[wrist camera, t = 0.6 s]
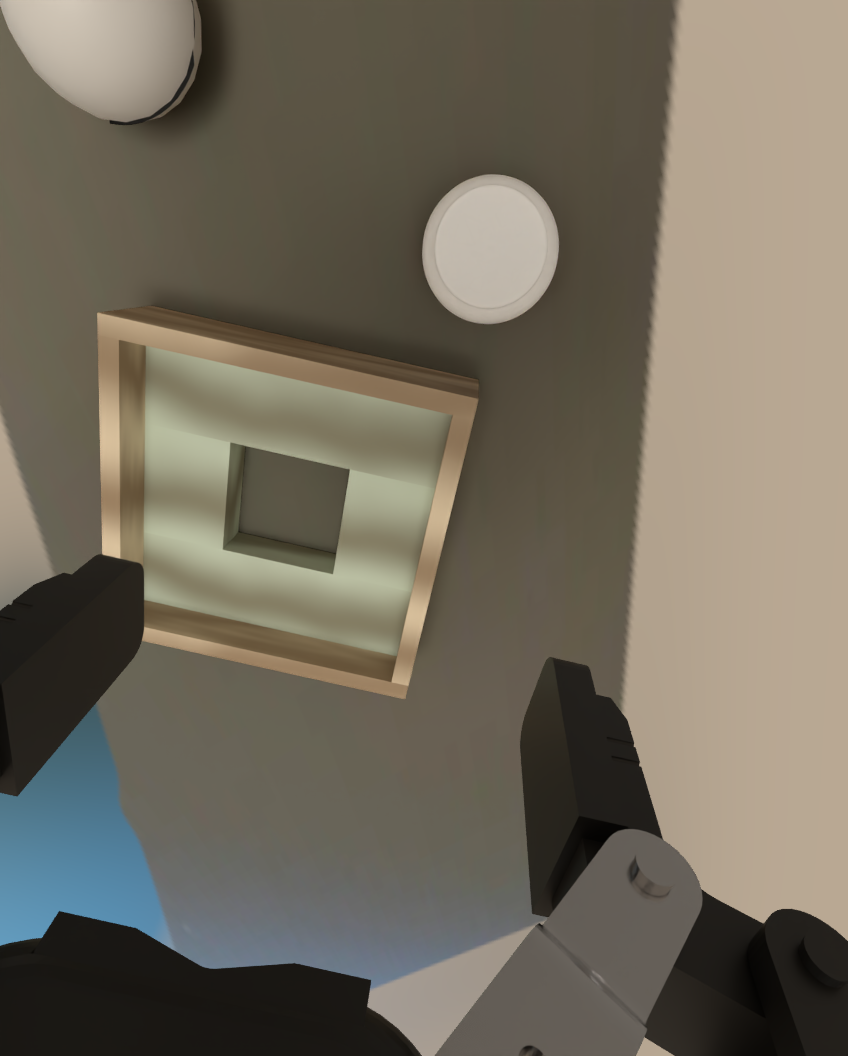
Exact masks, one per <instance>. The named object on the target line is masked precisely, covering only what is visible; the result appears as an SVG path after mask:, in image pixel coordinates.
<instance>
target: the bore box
mask: <svg viewBox="0 0 848 1056" xmlns="http://www.w3.org/2000/svg"><path fill="white" fill-rule="evenodd" d="M97 320H98V367H99V414H100V461H101V507H102V554H103V555H107V556H111V557H116V558H120V559H125V560H129V561H133V562H138V563H140V564H141V565H142V566H143V569H144V633H143V638H142V641H146V642H150V643H155V644H159V645H164V646H168V647H173V648H177V649H182V650H186V651H191V652H195V653H200V654H204V655H209V656H213V657H218V658H222V659H227V660H231V661H236V662H240V663H245V664H249V665H254V666H258V667H263V668H267V669H272V670H276V671H280V672H285V673H289V674H294V675H298V676H303V677H307V678H312V679H316V680H321V681H325V682H330V683H334V684H339V685H343V686H348V687H352V688H357V689H361V690H366V691H370V692H375V693H379V694H384V695H388V696H393V697H397V698H402V699H405V697H406V693H407V689H408V685H409V681H410V677H411V673H412V669H413V664H414V660H415V656H416V652H417V648H418V644H419V640H420V636H421V632H422V628H423V624H424V620H425V616H426V612H427V607H428V603H429V599H430V595H431V591H432V587H433V583H434V579H435V575H436V571H437V567H438V563H439V559H440V555H441V550H442V546H443V542H444V538H445V534H446V530H447V526H448V522H449V518H450V514H451V510H452V506H453V502H454V498H455V494H456V489H457V485H458V481H459V477H460V473H461V469H462V465H463V461H464V457H465V453H466V449H467V445H468V441H469V437H470V432H471V428H472V424H473V420H474V416H475V412H476V408H477V404H478V400H479V380H477V379H473V378H469V377H464V376H460V375H455V374H451V373H447V372H442V371H438V370H433V369H429V368H424V367H420V366H416V365H411V364H407V363H402V362H398V361H394V360H389V359H385V358H380V357H376V356H372V355H367V354H363V353H358V352H354V351H349V350H345V349H341V348H336V347H332V346H327V345H323V344H319V343H314V342H310V341H305V340H301V339H296V338H292V337H288V336H283V335H279V334H274V333H270V332H266V331H261V330H257V329H252V328H248V327H244V326H239V325H235V324H230V323H226V322H221V321H217V320H213V319H208V318H204V317H199V316H195V315H191V314H186V313H182V312H177V311H173V310H169V309H164V308H160V307H155V306H145V307H137V308H130V309H122V310H114V311H107V312H99V313H97ZM246 446H248V447H253V448H257V449H262V450H266V451H270V452H275V453H279V454H284V455H288V456H293V457H297V458H302V459H306V460H310V461H315V462H319V463H324V464H328V465H333V466H337V467H341V468H346V469H350V474H349V480H348V486H347V492H346V498H345V504H344V511H343V517H342V523H341V529H340V535H339V541H338V547H337V553H336V554H334V553H329V552H325V551H320V550H316V549H311V548H307V547H302V546H298V545H294V544H289V543H285V542H280V541H276V540H271V539H267V538H262V537H258V536H253V535H249V534H245V533H240V532H238V530H239V518H240V506H241V495H242V483H243V471H244V459H245V447H246Z"/></svg>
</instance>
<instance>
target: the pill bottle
mask: <svg viewBox="0 0 848 1056" xmlns="http://www.w3.org/2000/svg"><path fill="white" fill-rule="evenodd" d="M558 252H559V237H558V230H557V226H556V222H555V219H554V217H553V214H552V212H551V210H550V208H549V207H548V205H547V203H546V202H545V200H544V199H543V198H542V197H541V196H540V195H539V194H538V193H537V192H536V191H535V190H534V189H533V188H532V187H530V186H529V185H528V184H526V183H524V182H523V181H520V180H518V179H516V178H513V177H510V176H505V175H497V174H489V175H482V176H478V177H474V178H471V179H468V180H466V181H464V182H462V183H460V184H459V185H457V186H456V187H454V188H453V189H452V190H451V191H449V192H448V193H447V194H446V195H445V196H444V197H443V198H442V199H441V200H440V202H439V203H438V204H437V206H436V207H435V209H434V210H433V212H432V214H431V216H430V218H429V221H428V223H427V226H426V229H425V233H424V238H423V248H422V260H423V268H424V272H425V276H426V279H427V281H428V284H429V286H430V288H431V290H432V292H433V293H434V295H435V296H436V298H437V299H438V300H439V302H440V303H441V304H442V305H443V306H444V307H445V308H446V309H447V310H449V311H450V312H451V313H453V314H454V315H456V316H458V317H460V318H462V319H464V320H467V321H470V322H474V323H480V324H496V323H501V322H505V321H508V320H511V319H514V318H516V317H518V316H520V315H521V314H523V313H524V312H526V311H527V310H529V309H530V308H531V307H532V306H533V305H534V304H535V303H536V302H537V301H538V300H539V299H540V298H541V297H542V295H543V294H544V293H545V291H546V289H547V288H548V286H549V284H550V282H551V280H552V278H553V275H554V273H555V269H556V265H557V260H558Z"/></svg>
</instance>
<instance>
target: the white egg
mask: <svg viewBox="0 0 848 1056" xmlns="http://www.w3.org/2000/svg"><path fill="white" fill-rule="evenodd" d="M0 6H1V9H2V12H3V15H4V17H5V20H6V23H7V26H8V28H9V30H10V32H11V34H12V36H13V37H14V39H15V41H16V43H17V45H18V46H19V48H20V49H21V51H22V52H23V54H24V56H25V57H26V59H27V60H28V62H29V63H30V65H31V66H32V68H33V70H34V71H35V72H36V73H37V74H38V75H39V76H40V77H41V78H42V79H43V80H44V81H45V82H46V83H47V84H48V85H49V86H50V87H51V88H52V89H53V90H54V91H56V92H57V93H58V94H59V95H60V96H62V97H63V98H65V99H66V100H67V101H69V102H70V103H72V104H73V105H75V106H77V107H78V108H80V109H82V110H84V111H86V112H88V113H90V114H92V115H94V116H96V117H98V118H99V119H106V120H110V124H117V125H132V124H137V123H142V122H145V121H149V120H153V119H156V118H160V117H162V116H164V115H165V114H166V113H168V112H169V111H170V110H171V109H173V108H174V107H175V106H177V105H178V104H179V103H181V101H182V99H183V98H184V96H185V94H186V93H187V91H188V90H189V88H190V86H191V85H192V83H193V82H194V80H195V76H196V72H197V68H198V64H199V60H200V56H201V52H202V48H201V17H200V13H199V9H198V6H197V2H196V0H0Z"/></svg>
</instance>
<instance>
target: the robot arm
mask: <svg viewBox="0 0 848 1056" xmlns="http://www.w3.org/2000/svg"><path fill="white" fill-rule="evenodd" d="M143 633H144V569H143V566H142V565H141V564H140V563H138V562H133V561H129V560H125V559H120V558H116V557H111V556H107V555H102V554H99V555H96V556H95V557H93V558H92V559H91V560H89V561H88V562H87V563H86V564H84V565H83V566H82V567H81V568H79V569H78V570H77V571H76V572H75V573H73V574H72V575H71V574H67V573H62V574H59V575H57V576H54V577H52V578H50V579H47V580H45V581H42V582H40V583H37V584H35V585H33V586H32V587H31V588H29V589H28V590H27V591H25V592H24V593H23V594H21V595H20V596H19V597H17V598H16V599H15V600H13V603H12V605H9V604H8V605H7V606H6V607H4V608H3V609H2V610H1V611H0V793H4V794H8V795H13V796H18V795H19V794H20V792H21V791H22V790H23V789H24V788H25V787H26V785H27V784H28V783H29V782H30V781H31V779H32V778H33V777H34V776H35V775H36V773H37V772H38V771H39V770H40V769H41V768H42V766H43V765H44V764H45V763H46V761H47V760H48V759H49V758H50V757H51V756H52V755H53V753H54V752H55V751H56V750H57V749H58V747H59V746H60V745H61V744H62V743H63V741H64V740H65V739H66V738H67V737H68V735H69V734H70V733H71V732H72V731H73V730H74V728H75V727H76V726H77V725H78V724H79V722H80V721H81V720H82V719H83V717H84V716H85V715H86V714H87V713H88V712H89V711H90V709H91V708H92V707H93V706H94V705H95V703H96V702H97V701H98V700H99V699H100V697H101V696H102V695H103V694H104V693H105V692H106V690H107V689H108V688H109V687H110V686H111V684H112V683H113V682H114V681H115V680H116V678H117V677H118V676H119V675H120V674H121V672H122V671H123V670H124V669H125V668H126V667H127V665H128V664H129V663H130V662H131V661H132V659H133V658H134V656H135V655H136V653H137V651H138V649H139V647H140V644H141V641H142V638H143ZM520 751H521V765H522V779H523V793H524V807H525V821H526V835H527V849H528V863H529V877H530V891H531V905H532V914H536V915H540V916H545V917H549V918H548V919H547V920H546V921H545V923H544V924H543V925H541V924H540V923H539V924H537V925H536V926H535V927H534V928H533V929H532V930H531V932H530V933H529V934H528V935H527V937H526V938H525V939H524V940H523V942H522V943H521V944H520V946H519V947H518V948H517V949H516V951H515V952H514V953H513V955H512V956H511V957H510V959H509V960H508V961H507V962H506V964H505V965H504V966H503V968H502V969H501V970H500V972H499V973H498V974H497V975H496V977H495V978H494V979H493V981H492V982H491V983H490V984H489V986H488V987H487V989H486V990H485V991H484V992H483V993H482V995H481V996H480V997H479V999H478V1000H477V1001H476V1003H475V1004H474V1005H473V1007H472V1008H471V1009H470V1010H469V1012H468V1013H467V1014H466V1016H465V1017H464V1018H463V1019H462V1021H461V1022H460V1023H459V1025H458V1026H457V1027H456V1029H455V1030H454V1031H453V1032H452V1034H451V1035H450V1037H449V1038H448V1039H447V1040H446V1042H445V1043H444V1044H443V1045H442V1047H441V1048H440V1049H439V1051H438V1052H437V1054H435V1056H636V1054H637V1052H638V1050H639V1048H640V1046H641V1044H642V1041H643V1039H644V1037H645V1038H647V1039H648V1040H650V1041H652V1042H653V1043H655V1044H656V1045H658V1046H660V1047H661V1048H663V1049H665V1050H666V1051H668V1052H670V1053H671V1054H673V1055H674V1056H848V941H847V940H846V939H845V938H844V937H843V936H842V935H840V934H839V933H838V932H837V931H836V930H834V929H833V928H831V927H830V926H829V925H828V924H826V923H824V922H823V921H821V920H820V919H818V918H816V917H814V916H812V915H810V914H808V913H805V912H802V911H798V910H794V909H781V910H777V911H775V912H774V913H772V914H771V915H770V916H769V918H768V919H767V920H766V922H765V923H764V924H763V923H761V922H759V921H757V920H755V919H753V918H751V917H749V916H748V915H745V914H744V913H742V912H740V911H738V910H736V909H734V908H732V907H730V906H729V905H727V904H725V903H723V902H721V901H719V900H717V899H716V898H714V897H712V896H710V895H709V894H707V893H706V892H704V891H703V890H702V889H701V887H700V884H699V881H698V879H697V876H696V874H695V873H694V871H693V869H692V868H691V867H690V865H689V864H688V862H687V861H686V860H685V858H684V857H683V856H682V855H680V853H679V852H678V851H677V850H676V849H675V848H673V847H672V846H671V845H670V844H668V843H667V842H665V841H664V840H663V838H662V835H661V831H660V828H659V825H658V821H657V818H656V815H655V811H654V808H653V804H652V801H651V798H650V795H649V791H648V788H647V784H646V781H645V778H644V774H643V771H642V768H641V767H640V766H639V763H640V761H639V758H638V754H637V751H636V748H635V747H634V741H633V738H632V735H631V731H630V728H629V724H628V721H627V719H626V718H625V716H624V715H623V714H622V712H621V711H620V710H619V708H618V707H617V706H616V704H615V703H614V702H613V700H612V699H611V698H609V697H604V696H600V695H596V692H595V688H594V684H593V680H592V676H591V672H590V669H589V667H588V666H587V665H582V664H578V663H573V662H569V661H565V660H560V659H556V658H551V657H549V658H548V659H547V660H546V662H545V664H544V666H543V669H542V672H541V674H540V677H539V680H538V682H537V685H536V688H535V690H534V693H533V696H532V698H531V701H530V704H529V706H528V709H527V712H526V714H525V717H524V721H523V725H522V731H521V740H520ZM370 985H371V980H368V979H363V978H359V977H354V976H350V975H345V974H341V973H336V972H332V971H327V970H323V969H318V968H314V967H309V966H305V965H300V964H295V963H293V964H278V965H264V966H250V967H236V968H221V969H209V968H204V967H202V966H200V965H198V964H196V963H194V962H193V961H191V960H189V959H188V958H186V957H184V956H183V955H181V954H179V953H177V952H176V951H174V950H172V949H170V948H169V947H167V946H165V945H164V944H162V943H160V942H158V941H157V940H155V939H154V938H152V937H150V936H148V935H147V934H145V933H143V932H142V931H140V930H138V929H136V928H132V927H128V926H124V925H119V924H115V923H110V922H106V921H101V920H97V919H92V918H88V917H83V916H79V915H74V914H70V913H64V912H60V911H59V912H58V914H57V916H56V917H55V918H54V920H53V922H52V923H51V925H50V926H49V928H48V930H47V931H46V933H45V934H44V936H43V937H42V938H38V939H37V938H36V939H30V940H24V941H19V942H14V943H8V944H5V945H1V946H0V1056H422V1055H421V1054H420V1053H419V1051H418V1050H417V1049H416V1048H415V1046H414V1045H413V1044H412V1043H411V1042H410V1041H409V1040H408V1039H407V1037H405V1035H404V1034H402V1032H401V1031H400V1030H399V1029H398V1028H397V1027H395V1026H394V1025H393V1024H391V1023H390V1022H389V1021H387V1020H386V1019H385V1018H384V1017H383V1016H381V1015H380V1014H378V1013H376V1012H375V1011H373V1010H371V1009H370V1008H368V1007H367V1004H368V998H369V991H370Z"/></svg>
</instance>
